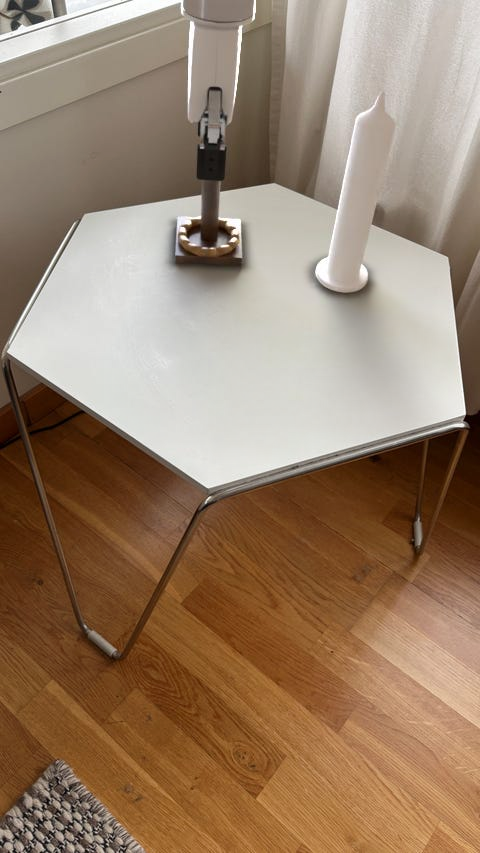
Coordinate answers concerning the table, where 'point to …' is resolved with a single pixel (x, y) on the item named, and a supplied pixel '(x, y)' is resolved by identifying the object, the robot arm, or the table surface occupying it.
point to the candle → (358, 200)
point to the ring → (208, 251)
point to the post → (209, 231)
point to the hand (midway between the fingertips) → (210, 157)
